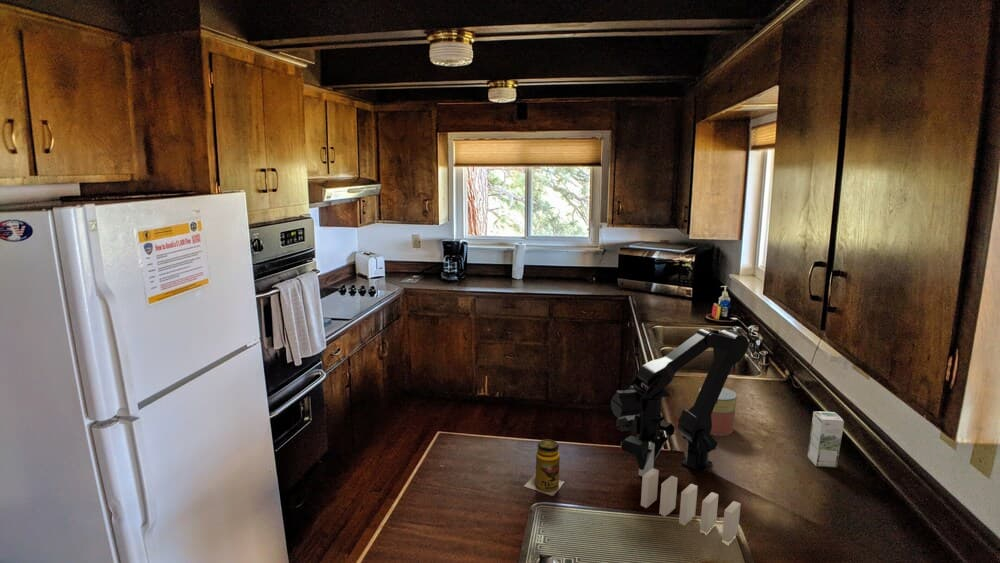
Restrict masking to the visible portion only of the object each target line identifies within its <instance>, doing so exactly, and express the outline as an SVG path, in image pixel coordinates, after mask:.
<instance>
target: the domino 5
mask: <svg viewBox="0 0 1000 563" xmlns="http://www.w3.org/2000/svg"><path fill="white" fill-rule="evenodd" d="M719 496H720V495H719V494H718V493H716V492H713V491H711V492H710V493H709V494H708V495H707V496H706V497H705V498H704V499H703V500H702V502H701V512H700V523H699V525H700V526H699V531H700V530H702V531H704V532H706V533H707V532H708V531H709V530H710V528H712V527H713V525H714V524H715V523H716V524H717V518H718V517H717V515H718V505H719V504H718V503H719Z"/></svg>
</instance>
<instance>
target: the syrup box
mask: <svg viewBox="0 0 1000 563" xmlns="http://www.w3.org/2000/svg"><path fill="white" fill-rule="evenodd" d="M811 420H812V421H811V428H810V432H809V433H810V435H809V442H808V447H807V458H808V459H809V460H810V461H811V463H812V464H814V466H815V467H820V468H823V467H824V468H838V462H839V456H840V451H841V450H840V449H841V443H842V437H843V430H844V424H845V421H844V419H843V418H842V417H841V416H840V415H839V414H838V413H836V412H835V411H817V410H815V411H813V412H812V419H811Z"/></svg>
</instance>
